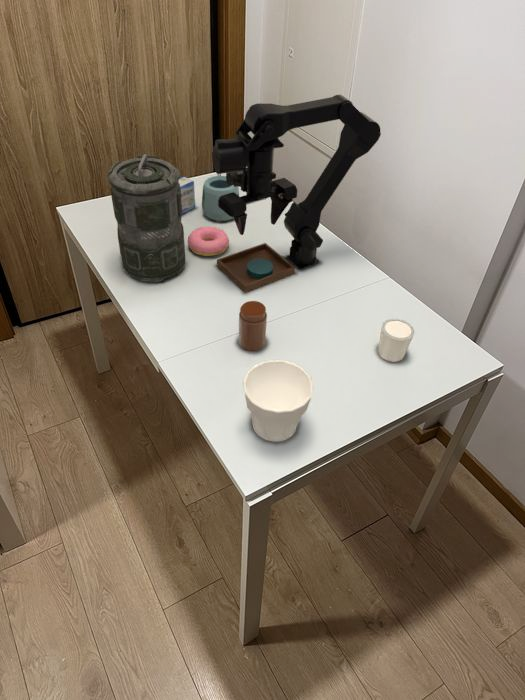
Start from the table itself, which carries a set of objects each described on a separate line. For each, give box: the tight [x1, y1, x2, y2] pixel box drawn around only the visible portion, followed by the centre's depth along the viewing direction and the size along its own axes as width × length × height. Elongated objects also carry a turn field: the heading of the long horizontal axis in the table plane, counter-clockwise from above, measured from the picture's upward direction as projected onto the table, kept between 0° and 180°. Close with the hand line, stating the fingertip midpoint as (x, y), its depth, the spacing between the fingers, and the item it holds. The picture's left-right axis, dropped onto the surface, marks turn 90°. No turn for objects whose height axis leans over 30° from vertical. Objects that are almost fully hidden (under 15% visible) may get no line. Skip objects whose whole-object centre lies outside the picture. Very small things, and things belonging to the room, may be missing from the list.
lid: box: [247, 258, 273, 279], centre depth 135 cm, size 7×7×2 cm
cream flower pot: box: [242, 359, 315, 442], centre depth 97 cm, size 12×12×11 cm
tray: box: [216, 242, 296, 294], centre depth 136 cm, size 15×13×2 cm
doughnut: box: [187, 226, 230, 257], centre depth 142 cm, size 11×11×4 cm
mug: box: [201, 174, 240, 222], centre depth 154 cm, size 15×11×10 cm
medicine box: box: [178, 176, 196, 215], centre depth 153 cm, size 8×4×9 cm, turn 141°
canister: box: [107, 153, 186, 283], centre depth 126 cm, size 16×16×28 cm
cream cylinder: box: [377, 318, 415, 363], centre depth 114 cm, size 7×7×7 cm
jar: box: [238, 300, 268, 352], centre depth 114 cm, size 6×6×10 cm
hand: (257, 229), depth 128 cm, fingers open, 9 cm apart
